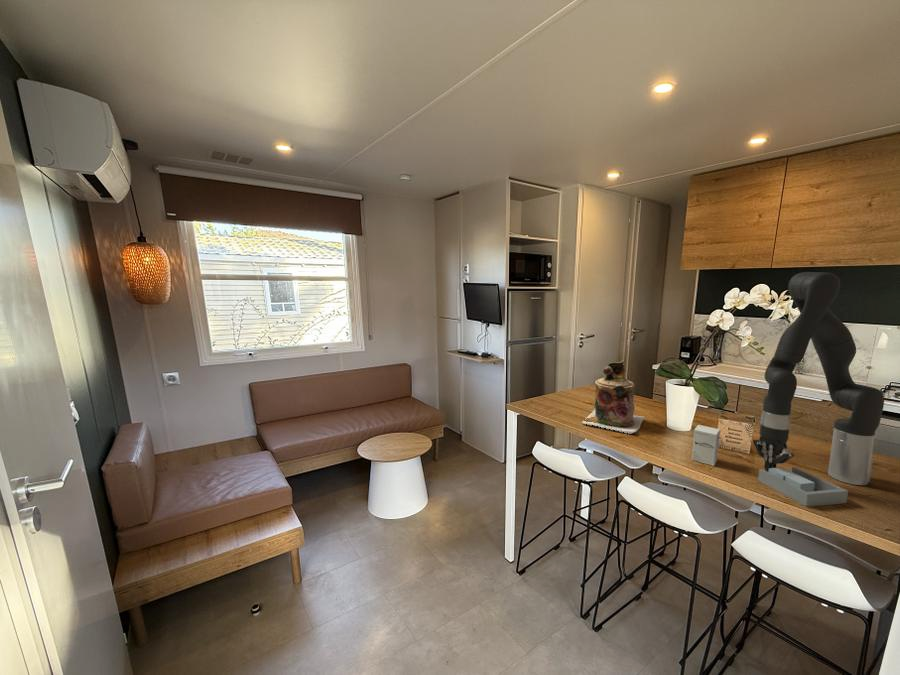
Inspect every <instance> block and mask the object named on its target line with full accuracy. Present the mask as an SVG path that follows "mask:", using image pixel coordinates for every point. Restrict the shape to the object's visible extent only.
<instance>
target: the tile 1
mask: <svg viewBox="0 0 900 675" xmlns="http://www.w3.org/2000/svg"><path fill="white" fill-rule="evenodd" d="M768 473H770V474H772V475H774V476H776V477H778V478H780V479H782V480H784V477H785V476H790V475H797V474H795V473H793V472H792V471H790V470H789V469H786V468H784V467H776V468H769V472H768Z"/></svg>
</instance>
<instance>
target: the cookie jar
mask: <svg viewBox="0 0 900 675" xmlns="http://www.w3.org/2000/svg"><path fill="white" fill-rule="evenodd" d="M624 363H625V360H624V359H623V360H622V361H618V362H617V361H612V362H610V363H608V364H607V365H606V366H605V367H604V368H603V370H602V372H603V374H604V375H605V376H604V377H602V378H598V379H596V380H595V382H594V385H595V395H594V403H593V405H594V406H593V407H594V408H593V411H592V412H591V413H590V414H589V415H587V417H586V418H585V420H586V419H587V418H591V417H595V420H596V421H597V422H598V423H594V422H586V421H584V420H583V421H581V424H582V423H583V424H582V425H586V424H587V426H592V425H593V426H595V427H597V426H598V427H597V428H600V427H601V428H600V429H604V428H606V429H605V430H609V429H610V431H613V430H615V431H614V432H618V431H619V432H618V433H623V432H624V434H627V433H628V434H627V435H631V434H634V433H637V432H638V431H639V429H640V428H641V425H642V423H643V420H644V419H645V416H644V415H642V416H641V415H634V414H635V404H634V403H635V402H634V401H635V400H634V397H635V396H634V393H633V392H634V391H633V390H634V389H635V383H634V382H632V381H630V380H627V379H626V378H625V376H624V375H625V372H626V369H625V365H624Z"/></svg>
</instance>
